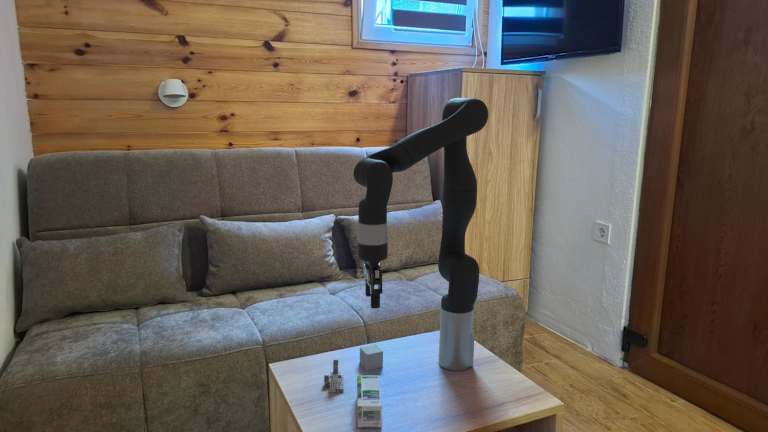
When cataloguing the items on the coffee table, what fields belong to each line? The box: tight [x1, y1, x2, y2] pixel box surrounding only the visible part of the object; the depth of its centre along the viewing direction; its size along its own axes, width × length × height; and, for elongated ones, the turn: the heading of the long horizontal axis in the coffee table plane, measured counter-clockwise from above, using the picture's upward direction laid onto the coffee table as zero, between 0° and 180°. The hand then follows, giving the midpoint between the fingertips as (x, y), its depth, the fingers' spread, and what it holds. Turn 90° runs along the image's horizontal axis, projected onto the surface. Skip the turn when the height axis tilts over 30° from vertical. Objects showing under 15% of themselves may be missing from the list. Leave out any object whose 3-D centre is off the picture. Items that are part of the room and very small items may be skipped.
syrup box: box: [356, 375, 383, 428], centre depth 130 cm, size 6×6×14 cm
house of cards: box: [323, 359, 345, 393], centre depth 142 cm, size 9×9×8 cm
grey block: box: [359, 344, 384, 371], centre depth 153 cm, size 5×5×5 cm
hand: (372, 301), depth 136 cm, fingers open, 8 cm apart
